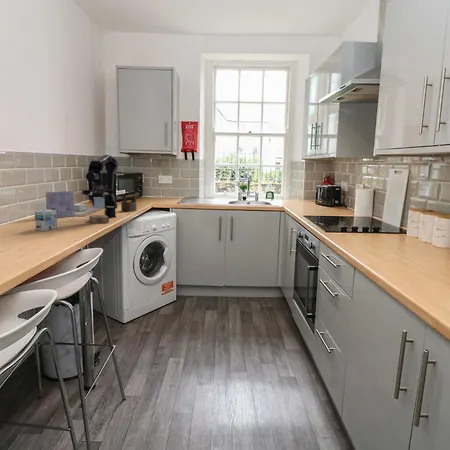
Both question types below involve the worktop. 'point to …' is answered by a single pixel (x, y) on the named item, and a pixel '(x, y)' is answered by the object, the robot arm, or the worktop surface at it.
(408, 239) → the worktop surface
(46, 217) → the light bulb box
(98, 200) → the slate-blue cube
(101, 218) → the walnut block
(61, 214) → the cake pan box
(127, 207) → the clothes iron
